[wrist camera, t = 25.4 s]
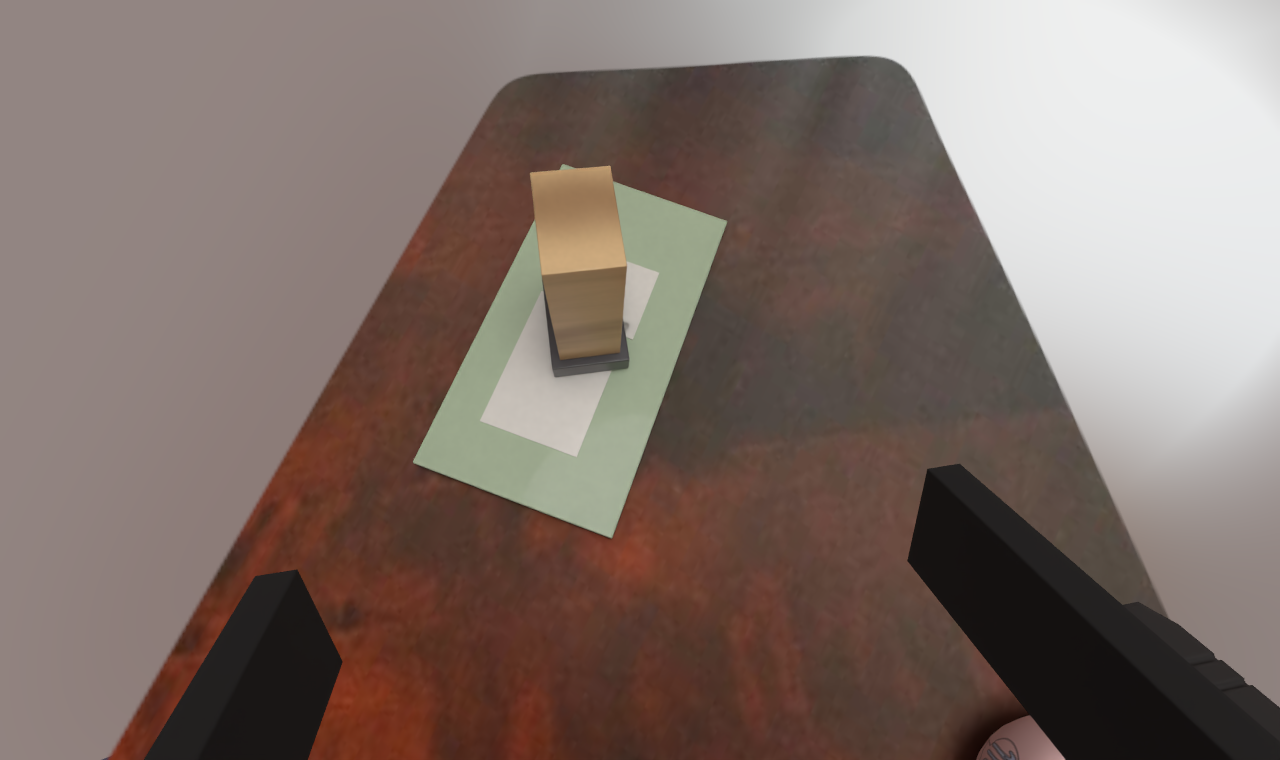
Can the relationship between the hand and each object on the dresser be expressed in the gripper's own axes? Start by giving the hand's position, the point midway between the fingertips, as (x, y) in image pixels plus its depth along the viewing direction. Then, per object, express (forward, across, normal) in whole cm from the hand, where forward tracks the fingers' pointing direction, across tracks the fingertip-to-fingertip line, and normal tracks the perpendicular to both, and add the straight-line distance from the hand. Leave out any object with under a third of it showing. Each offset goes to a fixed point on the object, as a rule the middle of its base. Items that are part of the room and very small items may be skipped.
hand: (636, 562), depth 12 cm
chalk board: (+24, 0, -4) cm, 24 cm away
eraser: (+23, 0, -4) cm, 23 cm away
